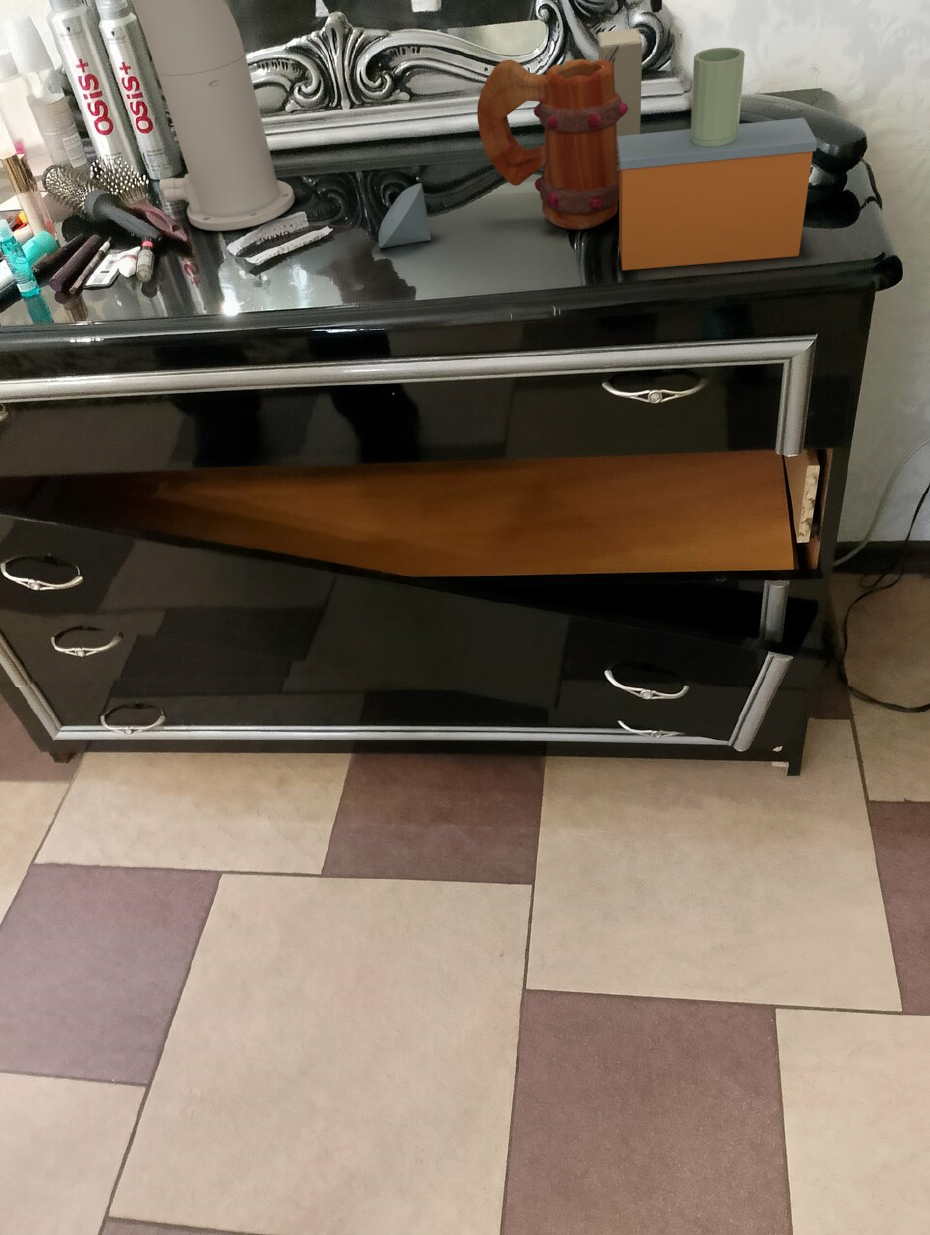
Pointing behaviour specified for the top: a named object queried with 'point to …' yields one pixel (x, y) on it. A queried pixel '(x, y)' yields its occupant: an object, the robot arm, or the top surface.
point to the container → (713, 195)
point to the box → (625, 74)
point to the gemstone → (405, 220)
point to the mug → (559, 136)
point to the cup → (716, 96)
